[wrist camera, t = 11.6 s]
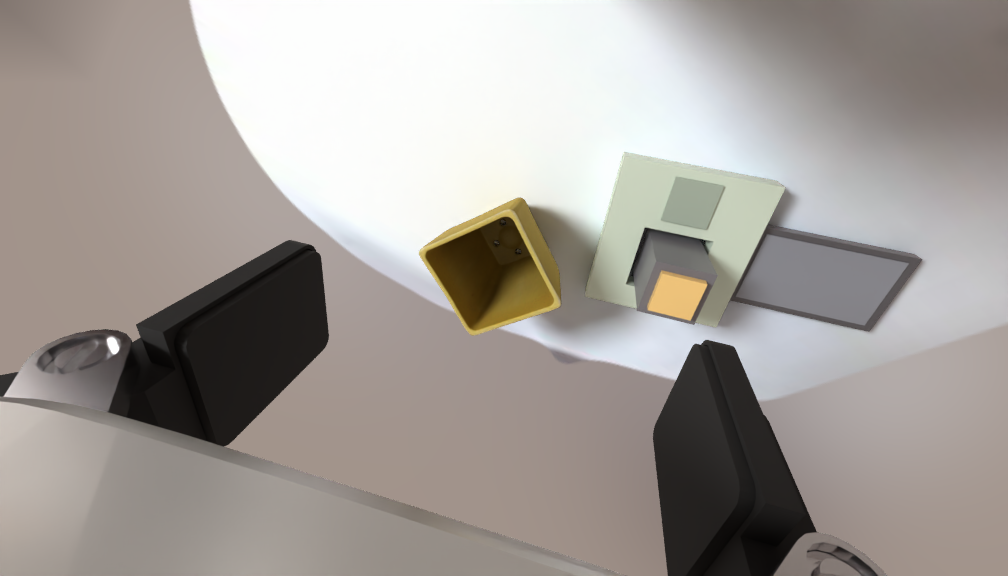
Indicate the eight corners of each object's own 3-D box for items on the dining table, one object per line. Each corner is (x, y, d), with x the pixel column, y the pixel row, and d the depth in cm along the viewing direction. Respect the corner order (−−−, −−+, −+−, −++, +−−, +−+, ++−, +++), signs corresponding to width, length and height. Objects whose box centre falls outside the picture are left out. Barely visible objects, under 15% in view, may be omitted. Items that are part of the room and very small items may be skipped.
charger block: (648, 226, 36) (656, 264, 30) (699, 237, 36) (719, 279, 29) (632, 269, 39) (637, 314, 32) (680, 280, 38) (695, 329, 31)
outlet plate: (623, 151, 34) (624, 157, 32) (776, 180, 32) (786, 188, 30) (586, 286, 40) (584, 297, 39) (711, 315, 39) (716, 328, 37)
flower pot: (572, 260, 40) (563, 308, 32) (495, 288, 43) (469, 338, 35) (533, 176, 37) (512, 207, 29) (453, 214, 40) (415, 250, 32)
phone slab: (756, 222, 34) (760, 226, 33) (914, 254, 33) (923, 259, 32) (722, 293, 38) (725, 299, 37) (863, 325, 36) (869, 332, 35)
